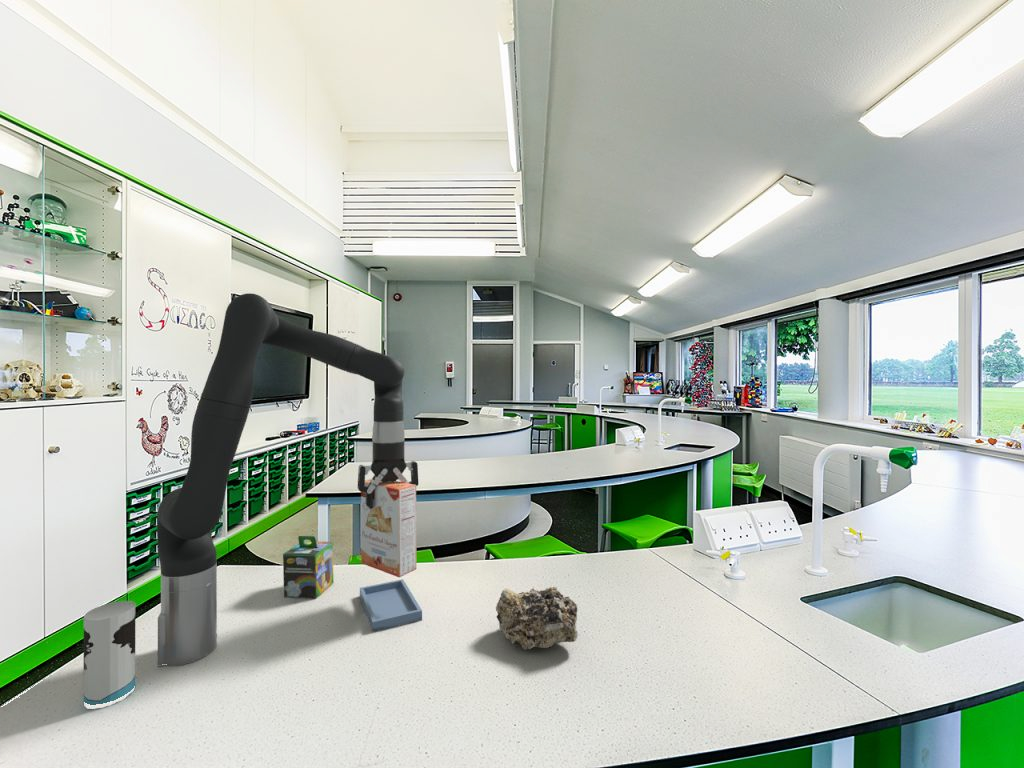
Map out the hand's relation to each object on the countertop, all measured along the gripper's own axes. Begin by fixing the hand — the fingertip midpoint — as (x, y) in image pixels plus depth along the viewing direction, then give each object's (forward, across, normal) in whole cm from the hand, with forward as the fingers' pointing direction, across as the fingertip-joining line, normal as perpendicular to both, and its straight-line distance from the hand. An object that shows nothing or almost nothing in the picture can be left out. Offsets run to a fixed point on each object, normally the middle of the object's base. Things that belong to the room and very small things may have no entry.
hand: (388, 506), depth 109 cm
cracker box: (+15, 0, 0) cm, 15 cm away
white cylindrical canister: (+25, -50, -9) cm, 57 cm away
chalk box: (+25, -17, +19) cm, 36 cm away
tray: (+25, 0, 0) cm, 25 cm away
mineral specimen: (+25, +26, -27) cm, 45 cm away
